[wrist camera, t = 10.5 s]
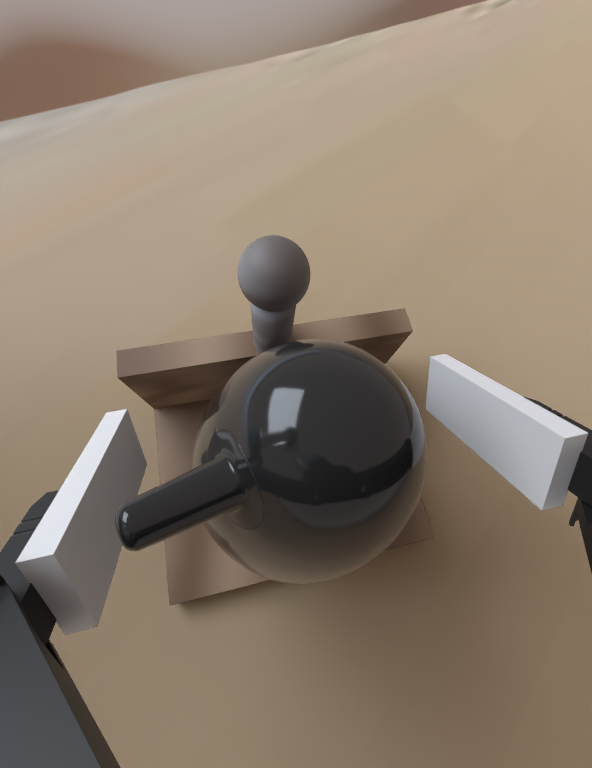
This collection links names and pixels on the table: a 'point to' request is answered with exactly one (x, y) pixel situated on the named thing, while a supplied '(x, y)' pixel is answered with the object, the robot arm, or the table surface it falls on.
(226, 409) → the pump dispenser
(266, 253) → the stand
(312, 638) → the table surface
